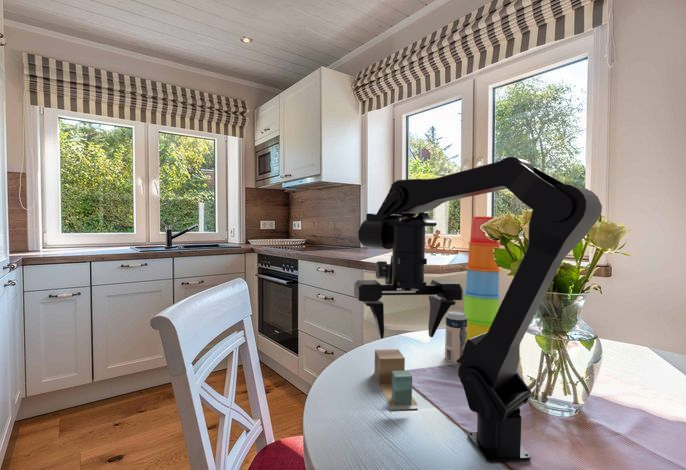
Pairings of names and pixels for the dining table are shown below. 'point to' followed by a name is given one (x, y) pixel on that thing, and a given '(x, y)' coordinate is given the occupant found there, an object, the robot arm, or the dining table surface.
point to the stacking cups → (481, 281)
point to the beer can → (455, 335)
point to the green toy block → (399, 391)
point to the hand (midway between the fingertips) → (406, 337)
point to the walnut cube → (388, 364)
